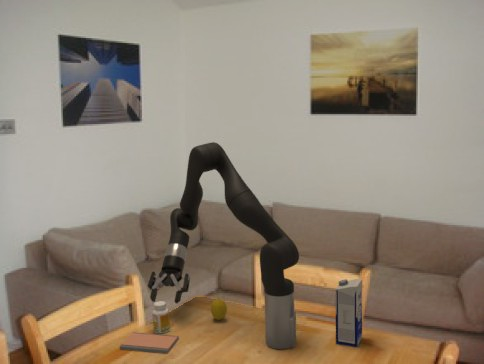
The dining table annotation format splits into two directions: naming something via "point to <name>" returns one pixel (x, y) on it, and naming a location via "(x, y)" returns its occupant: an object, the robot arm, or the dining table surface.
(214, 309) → the lemon
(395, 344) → the dining table surface
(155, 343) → the band board
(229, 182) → the robot arm
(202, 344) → the dining table surface
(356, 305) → the milk carton
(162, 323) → the supplement bottle
